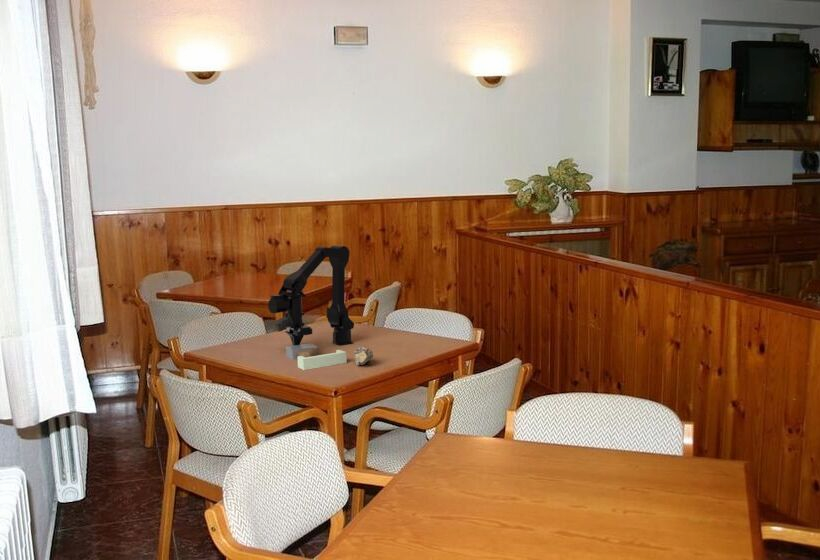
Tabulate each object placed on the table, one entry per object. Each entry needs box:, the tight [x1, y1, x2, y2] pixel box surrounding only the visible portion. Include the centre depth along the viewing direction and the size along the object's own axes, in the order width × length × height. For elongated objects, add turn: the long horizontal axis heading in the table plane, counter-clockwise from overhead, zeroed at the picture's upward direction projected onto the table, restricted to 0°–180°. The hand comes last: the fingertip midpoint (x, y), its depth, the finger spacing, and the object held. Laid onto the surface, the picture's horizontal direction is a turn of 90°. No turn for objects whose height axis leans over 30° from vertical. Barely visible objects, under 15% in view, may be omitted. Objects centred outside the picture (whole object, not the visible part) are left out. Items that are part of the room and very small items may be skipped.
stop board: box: [296, 349, 348, 371], centre depth 303 cm, size 17×5×4 cm, turn 123°
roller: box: [296, 348, 321, 361], centre depth 313 cm, size 8×4×4 cm
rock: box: [353, 345, 374, 367], centre depth 303 cm, size 7×11×10 cm
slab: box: [285, 342, 318, 361], centre depth 317 cm, size 10×7×4 cm
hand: (295, 349), depth 321 cm, fingers closed
